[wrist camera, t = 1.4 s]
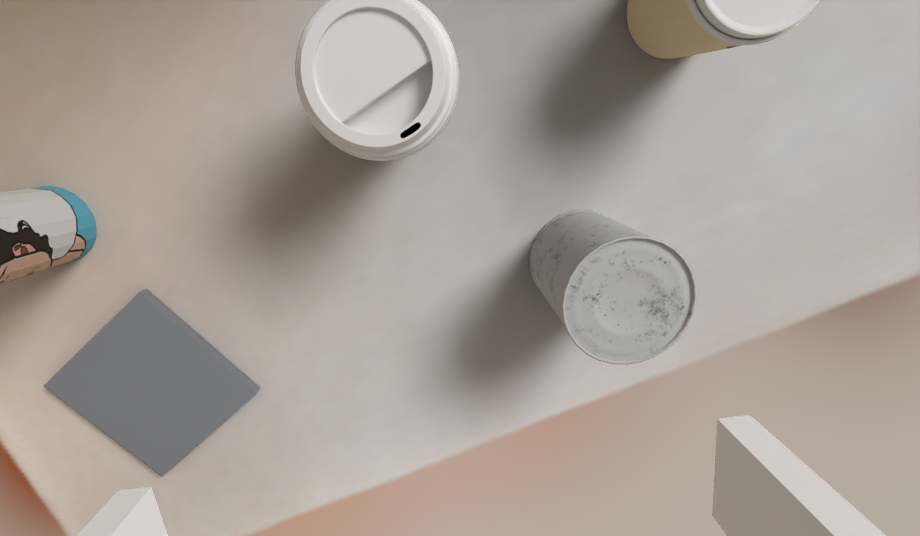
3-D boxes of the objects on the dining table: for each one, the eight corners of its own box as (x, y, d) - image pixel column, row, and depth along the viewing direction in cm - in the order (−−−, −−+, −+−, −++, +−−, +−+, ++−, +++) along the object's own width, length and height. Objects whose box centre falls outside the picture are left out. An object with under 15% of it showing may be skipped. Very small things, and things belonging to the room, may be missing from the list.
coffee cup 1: (355, 163, 41) (311, 176, 27) (327, 47, 39) (261, -8, 24) (461, 143, 41) (474, 145, 27) (440, 25, 39) (442, -43, 24)
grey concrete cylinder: (569, 325, 46) (614, 389, 34) (508, 255, 44) (534, 297, 32) (647, 263, 45) (722, 307, 33) (588, 188, 43) (646, 206, 31)
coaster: (52, 380, 45) (43, 386, 44) (146, 288, 43) (139, 292, 42) (167, 469, 48) (162, 476, 48) (260, 387, 46) (256, 393, 46)
